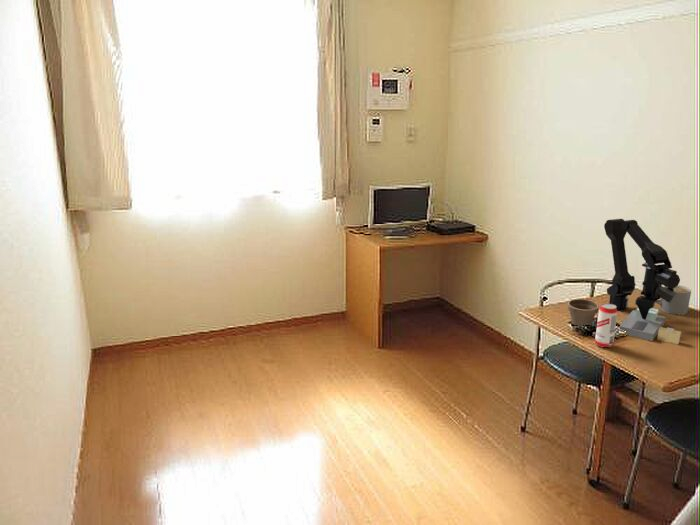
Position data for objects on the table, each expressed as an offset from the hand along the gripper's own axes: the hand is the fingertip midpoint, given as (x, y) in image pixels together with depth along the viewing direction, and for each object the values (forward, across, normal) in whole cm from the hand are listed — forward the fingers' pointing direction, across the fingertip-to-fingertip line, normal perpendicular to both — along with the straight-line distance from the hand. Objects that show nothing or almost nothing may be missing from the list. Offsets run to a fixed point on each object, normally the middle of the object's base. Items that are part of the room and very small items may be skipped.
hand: (646, 315), depth 218 cm
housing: (+3, -6, 0) cm, 7 cm away
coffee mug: (+4, +21, -4) cm, 22 cm away
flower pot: (+4, -19, +20) cm, 27 cm away
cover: (0, 0, 0) cm, 0 cm away
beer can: (+4, -30, +8) cm, 31 cm away
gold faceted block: (+3, -12, -10) cm, 16 cm away
